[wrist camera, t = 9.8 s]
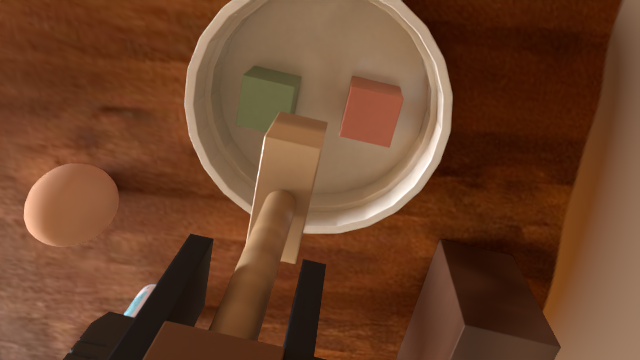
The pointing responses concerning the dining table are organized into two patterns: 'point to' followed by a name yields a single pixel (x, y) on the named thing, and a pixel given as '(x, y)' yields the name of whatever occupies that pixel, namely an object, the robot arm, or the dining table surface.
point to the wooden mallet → (257, 250)
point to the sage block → (266, 97)
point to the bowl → (323, 100)
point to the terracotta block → (371, 111)
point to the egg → (71, 205)
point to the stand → (476, 310)
